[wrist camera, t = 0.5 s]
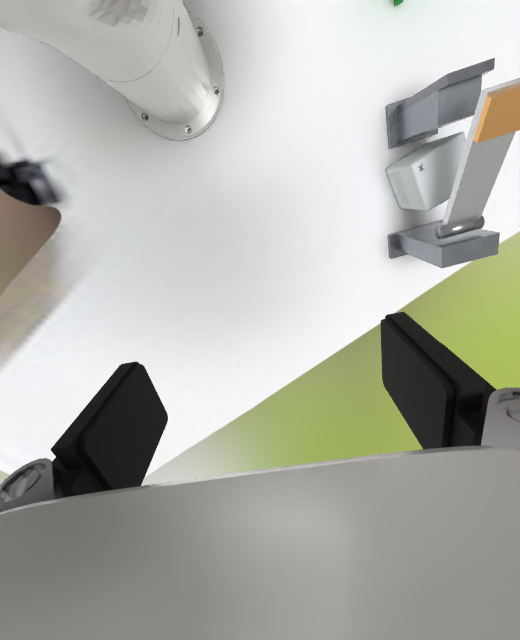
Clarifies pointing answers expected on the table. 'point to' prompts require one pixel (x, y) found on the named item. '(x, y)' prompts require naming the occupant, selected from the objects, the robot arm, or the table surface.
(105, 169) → the table surface
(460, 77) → the lug block
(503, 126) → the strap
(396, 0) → the pipe clamp
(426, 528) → the robot arm
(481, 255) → the hinge post
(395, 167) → the product box
